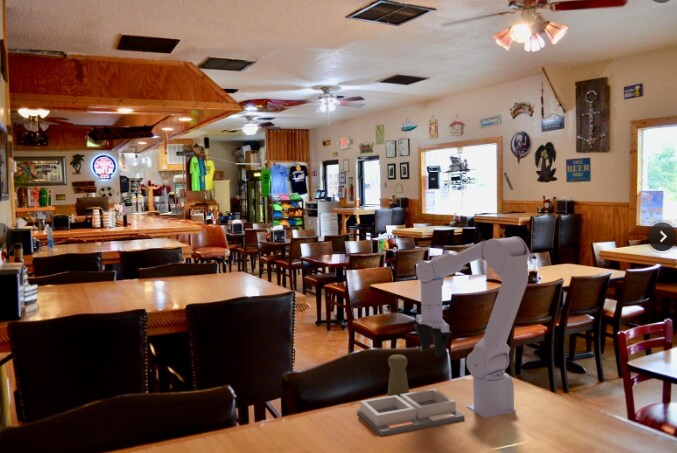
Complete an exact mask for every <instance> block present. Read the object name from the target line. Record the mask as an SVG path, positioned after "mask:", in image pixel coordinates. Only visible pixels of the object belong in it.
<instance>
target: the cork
mask: <svg viewBox="0 0 677 453" xmlns="http://www.w3.org/2000/svg"><path fill="white" fill-rule="evenodd" d="M387 363H388V367H389V368H390V369H389V375H388V376H389V377H388V378H389V379H388V388H387V394H386V395H388V396H393V395H397V396H399V397H400V394H405V393H410V388H409V382H408V376H407V369H406V368H407V366H408V359H407V357H406V356H405V355H404V354H391V355H390V356H389V357H388V359H387Z"/></svg>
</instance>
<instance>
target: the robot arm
mask: <svg viewBox="0 0 677 453" xmlns="http://www.w3.org/2000/svg"><path fill="white" fill-rule="evenodd" d="M529 249H530V248H529V247H528V246H527V244H526V242H525V241H524V240H523V238H521V237H520V236H511V237H504V238H490V239H488V240H483V241H480V242H478V243H476V244H474V245H472V246H469V247H467V248H466V249H464V250H462V251H460V252H459V251H458V252H457V251H455V250H450V249H449V250H444V251H443V254H441V255H439V256H437V255H434V256H432V257H431V259H430V260H421V261H420V262H419V263H418V264H417V265H416V269H415V274H416V277H417V279H418V280H419V281H420V304H421V305H420V312H421V314H416V315H415V316H416V317H415V322H416V323H414V324H413V328H414V329H415V331H416V334H417V337H418V339H419V342H420V347H421V350H422V351H423V350H424V351H425V350H429V349H430V347H431V339H432V342H433V347H434V348H433V349H434V355H435V357H437V358H440V357H444V356H445V352H446V348H447V344H448V341H449V339H450V338H451V336H452V333H453V332H452V331H451V330H450V325H449V324H448V323H447V322H446V321H445V320H444V319H443V285H444V279H445V278H446V277H448V276H451V275H453V274H456V273H460V271H462V270H463V267H464V265H466V264H469V263H472V262H475V261H477V260H481V261H485V262H486V263H487V264H488V265H489V267H490V268H491V269H492V270H493V272H494V274H496V276H498V278H500V279H501V283H500V287H499V290H498V293H497V296H496V299H495V301H494V305H493V308H492V311H491V313H490V317H489V320H488V323H487V324H486V327H485V331H484V334H483V336H482V338H481V339H480V340H479V341H478V342H476V344H475V345H474V347H473V350H472V351H471V352H470V353H469V354H468V355H467V357H466V367H467V369H468V371H469V373H470V374H471V377H472V378H473V379H472V381H473V382H472V386H473V387H472V388H473V390H472V391H473V394H472V395H473V403H470V404H467V405H466V408H468V409H469V410H471V411H472V412H474V413H476V414H477V415H478V416H481V417H482V418H485V419H487V418H491V417H496V416H497V417H498V416H501V415H502V416H503V415H507V414H512V413H516V412H517V409H515V387H514V382H513V379H512V377H511V376H510V374H508V373H507V372H505V370H506V369H507V368H508V367H509V365H510V355H509V354H510V350H511V347H510V346H509V345H508V344H507V342H508V339H509V335H510V333H511V330H512V327H513V324H514V322H515V319H516V316H517V313H518V311H519V308H520V305H521V302H522V300H523V296H524V294H525V292H526V289H527V285H528V282H529V271H528V270H529V267H528V260H529V257H530V254H531V251H530V250H529ZM433 328H434V329H436V330H434V329H433Z"/></svg>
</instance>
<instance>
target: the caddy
mask: <svg viewBox="0 0 677 453" xmlns="http://www.w3.org/2000/svg"><path fill="white" fill-rule="evenodd" d="M359 402H360V404H359V406H360V409H357V410H356V414H357V413H358V414H359V415H358V414H357V415H358V416H359V417H360V418H361V419H363V421H365V422H366V423H367V424H368V425H369V426H370V427H371V428H372V429H373V430H374V431H375V432H376V433H377V434H379V435H380V436H381V437H382V436H387V435H393V434H398V433H402V432H403V433H404V432H408V431H414V430H419V429H425V428H429V427H434V426H438V425H444V424H449V423H455V422H460V421H464V420H465V415H464V414H462V412H460V411H458V410H457V409H456V408H457V404H456V400H454V399H452V398H451V397H449V396H447V395H446V394H444V393H442V392H441V391H439V390H438V389H436V388H429V389H424V390H418V391H412V392H409V393H405V394H400V397H399V396H397V395H393V396H382V397H377V398H372V399H371V398H370V399H365V400H359Z"/></svg>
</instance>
